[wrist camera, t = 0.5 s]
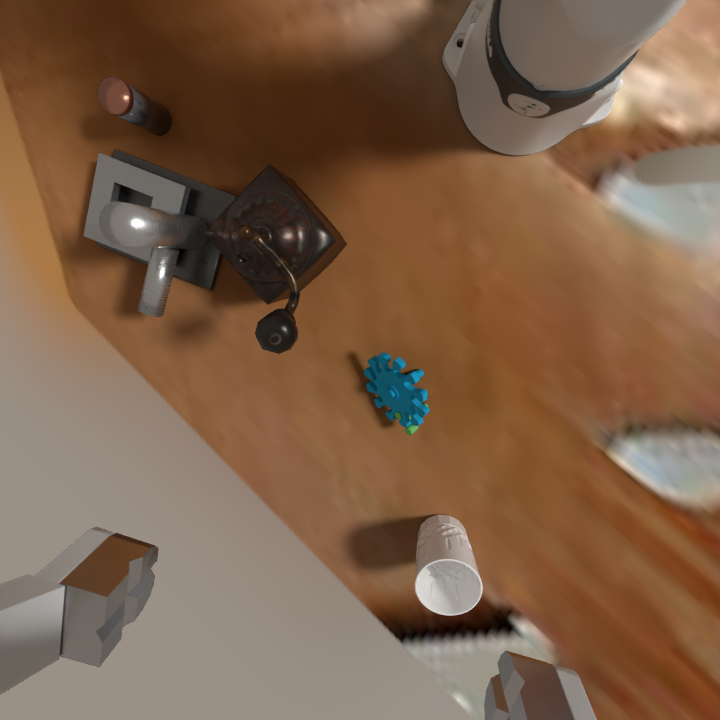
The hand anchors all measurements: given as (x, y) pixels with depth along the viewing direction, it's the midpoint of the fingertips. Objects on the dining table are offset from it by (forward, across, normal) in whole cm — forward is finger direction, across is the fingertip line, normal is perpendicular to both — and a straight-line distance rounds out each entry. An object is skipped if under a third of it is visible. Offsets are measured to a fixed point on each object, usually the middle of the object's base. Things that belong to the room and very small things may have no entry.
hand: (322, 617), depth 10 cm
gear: (+46, -3, +8) cm, 47 cm away
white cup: (+46, -15, +28) cm, 55 cm away
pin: (+46, +34, -16) cm, 59 cm away
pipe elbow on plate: (+46, +31, -3) cm, 55 cm away
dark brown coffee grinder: (+46, +13, -5) cm, 48 cm away
